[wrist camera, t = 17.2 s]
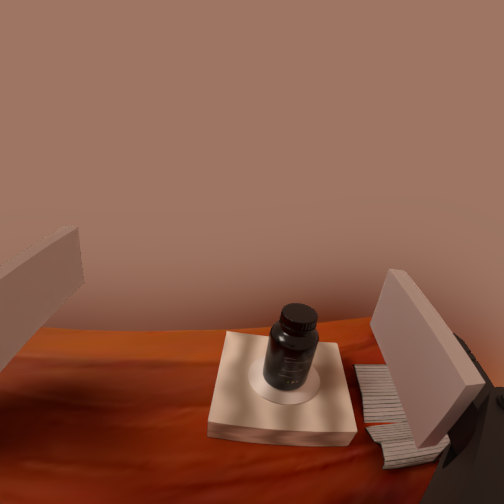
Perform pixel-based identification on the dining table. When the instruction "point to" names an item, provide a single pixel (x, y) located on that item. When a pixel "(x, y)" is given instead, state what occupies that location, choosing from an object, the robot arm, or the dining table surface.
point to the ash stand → (280, 399)
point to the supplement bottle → (291, 347)
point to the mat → (390, 420)
